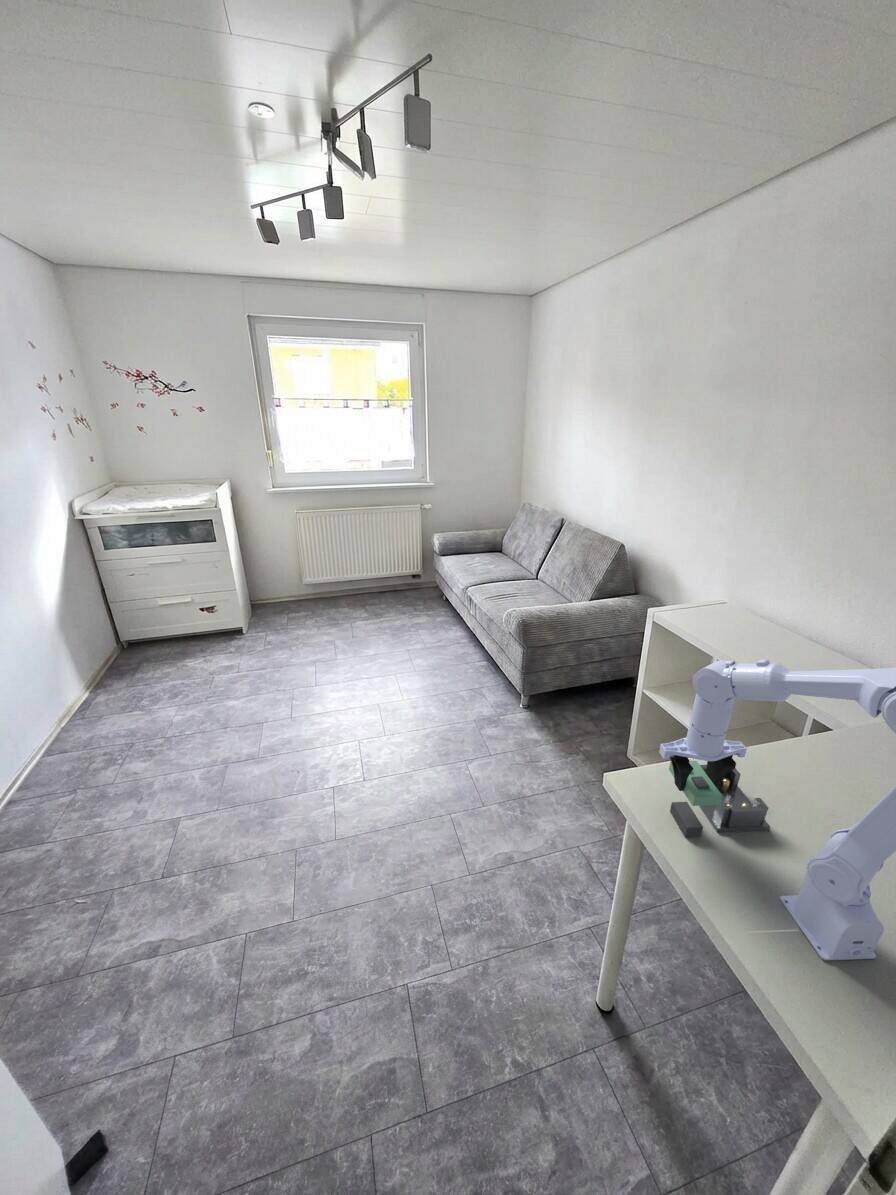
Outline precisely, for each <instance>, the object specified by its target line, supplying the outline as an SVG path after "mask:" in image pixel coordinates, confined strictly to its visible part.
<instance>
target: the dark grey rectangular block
mask: <svg viewBox="0 0 896 1195" xmlns="http://www.w3.org/2000/svg"><path fill="white" fill-rule="evenodd" d="M669 813H670V815H671V816H672V818H673V819H674V821H675V823H676V825H677V826H678V829H679V830H680V831H681V833H682V835H683V837H684V838H700V837H701V836H702V833H703V830H704V826H703V825H702V823H701V821H700V819H699V818H698V817H697V815H696V813H695V812H694V810H693V809H692V807H691V806H690V804H689V803H688V801H672V802H671V805H670V809H669Z"/></svg>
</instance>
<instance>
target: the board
mask: <svg viewBox="0 0 896 1195" xmlns="http://www.w3.org/2000/svg"><path fill="white" fill-rule="evenodd" d="M689 763H690V765H691V766H692V767H693V770H692V771H691V773H690V774H689V776H688V779H687V782H686V786H685V789H684V790H683V791H682V792H683V793H684V795H685V797H686V798H687V800H688V801H689V803H690V805H691V806H693V807H695V806H696V807H697V806H698V807H700V806H705V805H721V801H722V797H723V796H722V795H721V793H720V792H719V790H718V789H717V788H716V786H715V785H714V784H713V782H712V781H711V780H710V778H709V777H708V776H707V774H706V773H705V772H704V770H703V769H702V768H701V766H700V765H701V764H699V762H698V761H697V760H689ZM668 771H669V772H670V773H671V775H672V777H673V778H674V770H673V766H672V762H671V761H670V762H669V767H668Z"/></svg>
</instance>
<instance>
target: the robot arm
mask: <svg viewBox="0 0 896 1195" xmlns="http://www.w3.org/2000/svg"><path fill="white" fill-rule="evenodd" d="M692 687H693V690H694V692H695V698H694V701H693V707H692V710H691V715H690V719H689V720H690V721H689V725H688V730H687V733H686V737H683V738H680V739H679V738H678V739H677V740H673V741H670V742H666V743H660V745H659V755H660V756H661V758H662V759H663V760H670V762H672V766H673V770H674V777H673V778H674V785H675V786H676V788H677V789H678V791H680V792H683V790H684V789H685V786H686V782H687V779H688V776H689V774H690V773H691V771H692V770H693V767H692V766H691V765H690V763H689V761H690V759H694V760H699V761H705V762H706V765H707V768H706V772H705V773H706V774H707V776H708V777H709V778H710V780H711V781H712V782H713V784H714V785H715V786H716V785H717V784H718V783H719V781H720V780H721V779H722V778H723V777H724V776H725V775H726V774H727V773H729V772H730V771H732V770H733V769H735V768H736V766H737V762H736V760H734V758H733V757H734V756H737V757H738V758H745V757H746V753H747V749H748V748H747V747H746V746H745V744H743V743H742V742H741V740H739V741H734V740H727V739H726V737H727V732H728V728H729V725H730V720H731V717H732V712H733V710H734V709H733V707H734V704H735V700H745V701H747V700H748V701H760V702H779V703H783V702H785V701H786V700H788V699H789V698H790V697H791V696H792V695H795V696H806V697H807V696H808V697H817V698H828V699H837V700H839V699H840V700H847V701H848V700H849V701H855V702H857V703H858V704H859V706H861V708H863V710H865V712H866V713H868V715H870V716H871V717H872V718H874V719H875V718H877V717H878V716H879V715H880V714H881V716H882V718H883V720H884V721H885V723H886V724H887V726H888V727H889V728H890V729H891V731H892V732H894V734H896V667H883V668H882V667H880V668H861V669H860V668H858V669H857V668H855V669H829V670H826V669H825V670H797V671H796V670H795V671H794V670H793V671H792V670H790V669H788V668H787V667H786V666H785V665H783V664H782V663H776V662H774V663H771V662H770V659H769V658H768V659H765V658H763V659H762V658H761V659H759V660H758V661H756V662H755V663H753V662H751V663H750V662H748V663H746V662H745V663H744V662H743V663H740V662H739V663H737V662H736V661H735V660H723V659H722V660H716V661H714V662H713V663H710V664H708V665H706V666H704V667H703V668H701V669H699V670H698V671H697V672H695V673H694V675H693V678H692ZM894 853H896V784H895V785H894V786H893V787H892V788H891V789H890V790H889V791H888V792H887V793H886V794H885V795H884V796H883V797H882V798H881V799H880V800H879V801H877V803H876V804H875V805H874V806H873V807H872V808H871V809H870V810H869V811H868V812H866V814H865V815H864V816H862V818H861V819H860V820H859V821H857V822H855V823H854V824H853V825H852V826H851V827H849V828H843V829H841V828H840V829H839V830H836V831H834V832H833V833H832V834H831V837H830V839H829V840H828V841H827V843H825V844H824V846H823V847H822V849H821V850H820V851H819V852H818V853H817V854H816V855H815V856H813V858H811V859H809V861H808V863H807V864H806V865H807V866H806V870H807V871H806V873H805V875H804V877H803V878H804V879H803V881H802V883H801V885H800V889H799V890H798V894H796V895H793V894H792V895H780V897H779V899H780V902H781V903H782V904H783V906H784V907H785V909H786V910H787V912H788V913H789V914H790V916H791V917H792V918H793V920H794V921H795V923H796V924H797V926H798V927H799V928H800V930H801V931H802V933H803V934H804V936H805V937H806V938H807V940H808V941H809V943H810V944H811V945H812V947H813V949H814V950H815V951H816V952H817V954H818V955H819V957H820V958H821V959H822V960H824V961H839V960H840V961H844V960H846V961H847V960H866V959H867V960H868V959H870V960H871V959H873V960H874V959H876V958H877V955H876V953H875V949H876V947H877V945H878V943H879V941H880V939H881V937H882V935H883V934H884V931H885V930H884V925H883V923H882V922H881V920H880V919H879V917H878V916H877V914H876V912H875V910H874V908H873V905H872V903H871V900H870V899H871V896H872V892H871V885H870V884H871V882H872V881H873V879H874V878H875V876H876V875H877V873H878V872H880V870H881V869H883V867H884V864H885V862H886V860H887V859H888V858H890V857H891V856H892V855H893V854H894Z"/></svg>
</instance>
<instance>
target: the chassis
mask: <svg viewBox="0 0 896 1195" xmlns="http://www.w3.org/2000/svg"><path fill="white" fill-rule="evenodd" d="M699 765H700V766H701V768H702V769H703V770H704V772H706V768H707V764H699ZM740 778H741V773H740V772H739V770H738V769H737V768H736V767H735V769H733V770H732V771H730V772H729V773H727V774H726V775H725V776H724V777H723V778H722V779H721V780H720V781H719V783H718V784H717V785H716V788H717V789H718V790H719V792H720V793H721V795H722V796H723V797H722V801H721V805H705V806H699V808H700V809H701V811H702V813H703V814H704V815H705V817H706V818H707V821H709V823H710V824H711V826H712V828H713V829H714V830H715V832H716V833H735V832H736V833H739V832H740V833H741V832H744V833H745V832H769V831H770V829H771V826H770V824H769V823H768V822H767V820H766V816H767V814H768V810H769V807H768V805H767V804H766V803H765V801H763V799H762V798H761V797H754V800H753V803H752V801H751V800H750V799H749V798H748V797H747V795H746V794H745V793H744V792H743V791H742V789H741V788H740V786H738V784H739V781H740Z"/></svg>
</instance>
